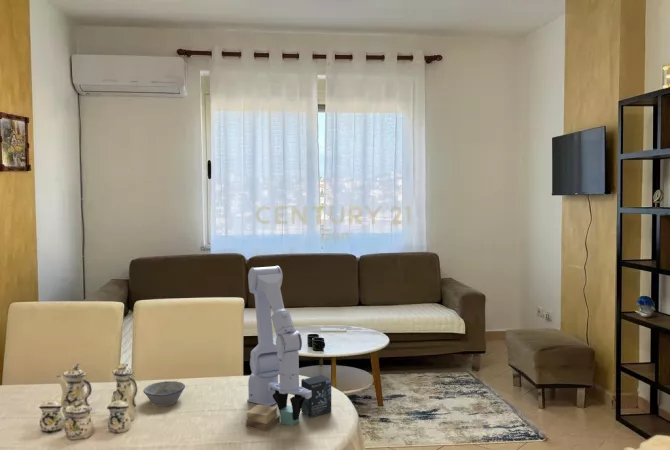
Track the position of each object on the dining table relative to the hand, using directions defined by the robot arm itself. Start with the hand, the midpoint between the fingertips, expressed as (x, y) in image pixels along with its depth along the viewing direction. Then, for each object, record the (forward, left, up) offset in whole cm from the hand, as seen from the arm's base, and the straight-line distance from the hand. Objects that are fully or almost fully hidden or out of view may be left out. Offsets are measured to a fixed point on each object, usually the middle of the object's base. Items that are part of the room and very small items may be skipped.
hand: (289, 417), depth 171 cm
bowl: (-45, -7, -2) cm, 46 cm away
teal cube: (0, 0, -1) cm, 1 cm away
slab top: (-6, -5, 0) cm, 8 cm away
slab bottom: (-6, -5, -2) cm, 8 cm away
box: (+3, +10, -2) cm, 11 cm away
